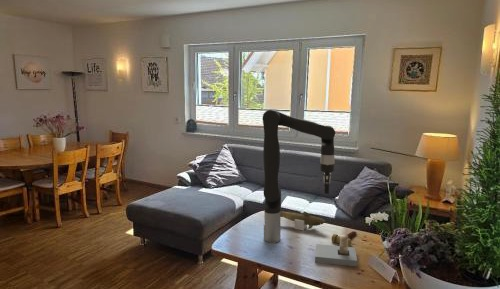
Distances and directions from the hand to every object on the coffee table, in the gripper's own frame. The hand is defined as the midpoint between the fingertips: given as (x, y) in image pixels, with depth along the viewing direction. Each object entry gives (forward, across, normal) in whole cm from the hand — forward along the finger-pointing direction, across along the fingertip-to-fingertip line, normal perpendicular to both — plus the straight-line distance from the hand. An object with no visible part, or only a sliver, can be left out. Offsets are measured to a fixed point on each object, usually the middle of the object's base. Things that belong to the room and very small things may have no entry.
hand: (326, 191), depth 177 cm
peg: (+30, +16, +9) cm, 35 cm away
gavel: (+31, -8, +13) cm, 34 cm away
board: (+30, +16, +5) cm, 34 cm away
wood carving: (+30, -18, -17) cm, 39 cm away
